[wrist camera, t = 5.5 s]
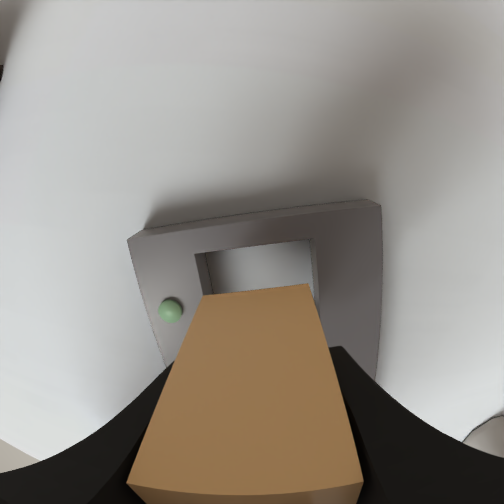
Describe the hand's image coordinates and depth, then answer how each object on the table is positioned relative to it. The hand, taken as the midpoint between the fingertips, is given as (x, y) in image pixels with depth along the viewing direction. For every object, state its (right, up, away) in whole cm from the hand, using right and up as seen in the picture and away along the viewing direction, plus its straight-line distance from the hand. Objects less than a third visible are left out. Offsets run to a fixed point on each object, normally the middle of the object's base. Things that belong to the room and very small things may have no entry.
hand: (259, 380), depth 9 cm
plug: (0, +1, +3) cm, 3 cm away
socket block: (+1, -1, +8) cm, 8 cm away
